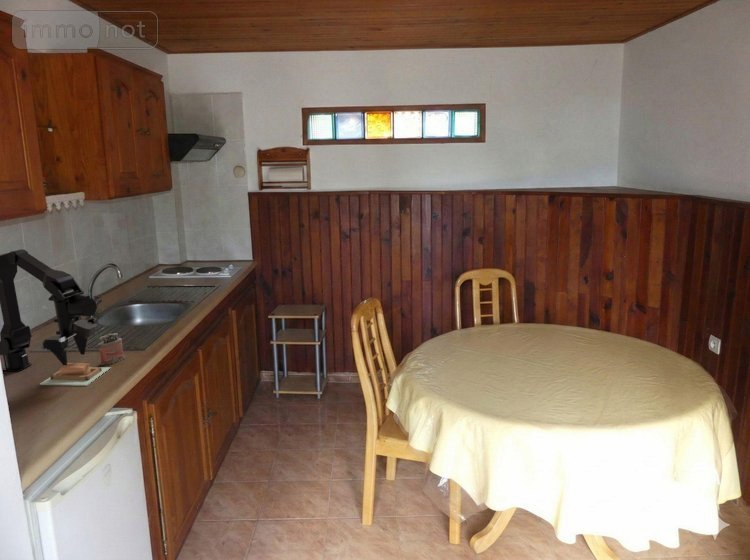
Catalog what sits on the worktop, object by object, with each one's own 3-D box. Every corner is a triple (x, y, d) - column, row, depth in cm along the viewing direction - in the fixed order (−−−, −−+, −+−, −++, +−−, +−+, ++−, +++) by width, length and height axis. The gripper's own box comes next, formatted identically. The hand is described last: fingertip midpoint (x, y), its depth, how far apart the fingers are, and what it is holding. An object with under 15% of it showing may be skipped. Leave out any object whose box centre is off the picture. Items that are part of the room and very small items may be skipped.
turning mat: (39, 384, 184) (39, 380, 184) (67, 367, 198) (66, 363, 197) (86, 385, 182) (85, 381, 182) (111, 368, 196) (110, 364, 195)
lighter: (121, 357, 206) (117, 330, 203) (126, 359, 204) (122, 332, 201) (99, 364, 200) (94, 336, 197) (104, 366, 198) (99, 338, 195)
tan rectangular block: (84, 377, 188) (83, 367, 187) (61, 377, 189) (60, 367, 188) (91, 373, 191) (89, 363, 190) (68, 372, 192) (66, 363, 191)
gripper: (71, 323, 175) (79, 371, 179) (106, 305, 193) (113, 349, 196) (37, 323, 176) (46, 371, 180) (75, 305, 194) (82, 349, 198)
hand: (74, 359), depth 188 cm, fingers open, 9 cm apart
